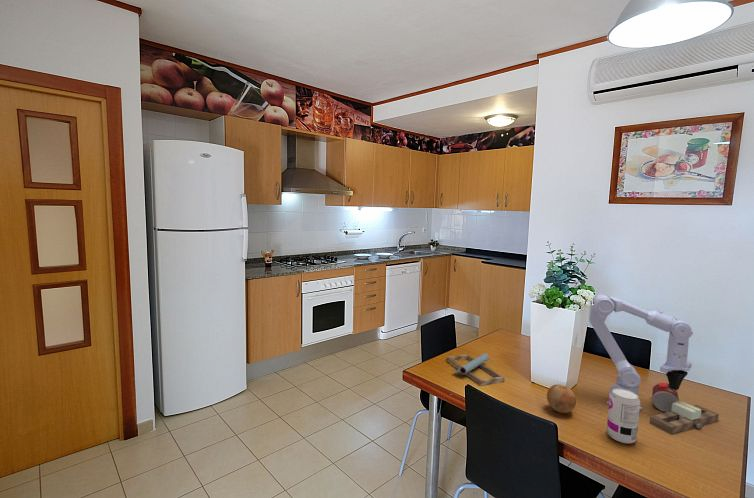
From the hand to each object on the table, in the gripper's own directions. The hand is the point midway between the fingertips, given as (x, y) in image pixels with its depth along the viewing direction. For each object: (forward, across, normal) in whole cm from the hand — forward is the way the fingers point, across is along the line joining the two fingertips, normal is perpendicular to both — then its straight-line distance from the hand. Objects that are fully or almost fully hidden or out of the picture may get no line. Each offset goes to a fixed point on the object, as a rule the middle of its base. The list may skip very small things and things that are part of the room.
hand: (674, 388), depth 135 cm
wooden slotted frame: (+10, -1, -5) cm, 11 cm away
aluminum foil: (+8, -49, +56) cm, 75 cm away
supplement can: (+10, -32, -4) cm, 34 cm away
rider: (+10, -1, -5) cm, 11 cm away
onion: (+10, -38, +15) cm, 42 cm away
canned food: (+6, +9, +8) cm, 13 cm away
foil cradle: (+9, -48, +55) cm, 74 cm away
